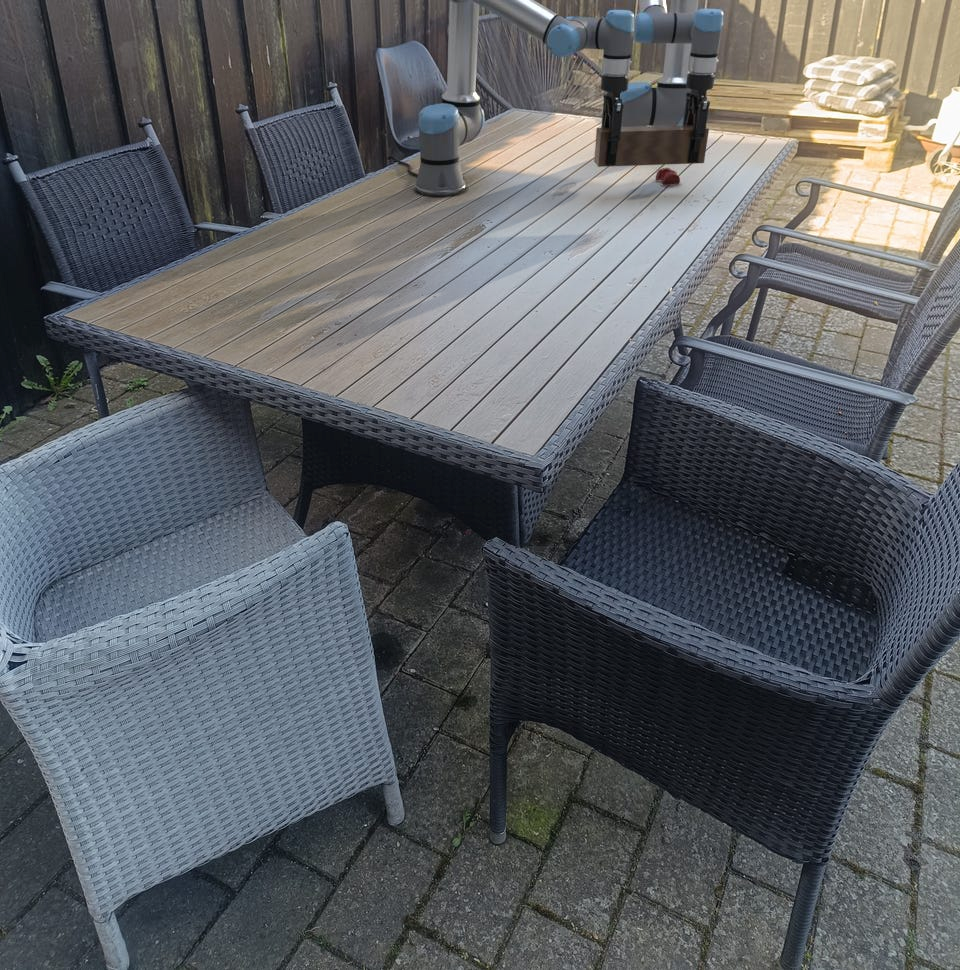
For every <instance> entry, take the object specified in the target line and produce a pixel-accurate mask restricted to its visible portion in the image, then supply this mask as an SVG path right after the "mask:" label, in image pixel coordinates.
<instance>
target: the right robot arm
mask: <svg viewBox="0 0 960 970" xmlns="http://www.w3.org/2000/svg"><path fill="white" fill-rule="evenodd" d="M638 8H639V13H637V14H636V15H635V17H634V32H633V40H634V42H636V43H639V44H646V45H649V44H665V53H664V61H663V62H664V63H663V71H662V76H661V77H660V78H659V79H658V80H657V82H656V83H657V84H656V87H652V84H651V83H650V82H649V81H633V82H629V84H628V90H627V91H624V92H621V98H622V103H623V105H624V106H623V112H622V123H621V127H637V126H670V125H693V137H690V140H691V143H690V150H689V157H688V163H694V164H698V163H697V162H698V156H699V149H700V142H701V139H702V138H704V137H705V130H706V127H707V121H708V114H709V109H710V105H711V101H709V100H708V97H707V92H708V91H710V90H713V88H714V85H715V77H716V75H715V73H716V70H717V64H719V59H718V57H719V50H720V45H721V37H722V30H723V27H724V12H723V11H724V10H722V9H717V8H700V9H699V0H670V4H669V12H668V9H667V2H666V0H638Z"/></svg>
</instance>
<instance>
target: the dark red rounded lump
mask: <svg viewBox="0 0 960 970" xmlns="http://www.w3.org/2000/svg"><path fill="white" fill-rule="evenodd" d="M655 181H662V182H661V185H662V186H670V185H680V183H681V178H680V176H679V174H678V172H677V171H676V170H672V169H671V168H669V167H662V168H660V169H658V171H657V172H656V174H655Z"/></svg>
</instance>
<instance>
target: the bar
mask: <svg viewBox="0 0 960 970" xmlns="http://www.w3.org/2000/svg"><path fill="white" fill-rule="evenodd" d="M709 131H710V128H708V127H707V126H706V130H705V137H704V138H702V139H701V142H700V149H699V156H698V162H697V163H696V164H705V161H706V159H705V158H706V154H707V153H706V152H707V146H708V138H709ZM690 137H693V125H670V126H637V127H621V135H620V141H618V143H617V154H616V165H606V155H607V143H608V142H607V141H606V140H607V139H609V127H604V128H601V127H596V132H595V143H594V160H593V162H594V163H595V164H596V166H597V167H599V168H602V167H603V168H605V167H632V166H633V167H635V166H660V165H662V166H663V165H664V166H665V165H688V164H689V165H690V164H691V165H692V164H693V165H694V164H695V163H688V157H689V150H690V143H691V140H690Z"/></svg>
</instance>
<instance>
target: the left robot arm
mask: <svg viewBox="0 0 960 970" xmlns="http://www.w3.org/2000/svg"><path fill="white" fill-rule="evenodd" d="M480 7H482V8H483V9H485V10H487V11H489V12H491V13H492V14H493V15H496V16H497V17H499V18H501V19H502V20H504V21H506V22H507V23H508V24H510V25H512V26H514V27H516V28H517V29H519V30H521V31H522V32H524V33H526V34H527V35H529V36H531V37H532V38H534V39H536V40H537V41H539V42H541V43H542V44H544V45H545V46H547V49H548V50H549V52H550V53H551V54H552V55H554V57H556V58H557V57H558V58H566V57H569V56H572V55H574V54H575V53H577V52H580V51H582V50H583V51H584V50H585V49H586V50H587V49H588V50H602V51H603V56H602V64H601V65H602V66H601V73H602V75H601V80H600V89H601V90H602V91H603V92H606V93H604V94H603V97H602V98H603V103H602V104H603V105H602V116H601V117H602V118H601V127H600V128H604V127H609V139H607V140H606V141H607V142H608V143H607V155H606V165H616V154H617V143H618V141H620V135H621V123H622V112H623V106H624V105H623V103H622V98H621V92H624V91H627V90H628V84H629V83H630V76H629V74H630V69H631V65H633V61H632V60H631V58H632V49H633V40H634V23H635V14H634V12H633V11H632V10H627V9H611V10H607V12H606V16H605V17H602V18H601V17H587V16H580V15H575V16H574V15H573V16H566V17H565V18H564V17H562V16H560V15H559V14H558V13H556V12H554V11H553V10H551V9H550V8H548V7H546V6H544V5H543V4H541V3H540V2H538V1H536V0H449V1H448V35H447V37H448V38H447V40H448V41H447V42H448V43H447V73H446V74H447V77H446V78H447V79H446V91H445V92H443V94H441V103H435V104H429V105H427V106H425V107H423V108H422V109H421V110H420V112H419V113H418V122H417V123H418V136H419V138H418V139H419V157H420V158H419V159H420V161H419V162H420V164H419V168H418V172H417V173H416V172H413V171H411V170H412V166H411V164H409V163H408V162H404V161H401V160H399V159H398V158H397V157H395V156H394V155H389V156H388V157H387V158H386V160H388V161H389V160H391V159H392V160H393V161H395V162H396V163H398V164H400V165H403V166H406V167H407V173H408V174H410V175H412V176H414V177H416V180H415V183H414V184H415V185H414V186H415V192H417V193H418V194H420V195H424V196H430V197H450V196H455V195H459V194H461V193H463V192H464V191H466V180H465V176H463V172H462V169H461V165H460V147H461V146H463V145H465V144H467V143H470V142H472V141H474V140H475V139H476V138H477V137H478V136H479V135H480V134H481V133H482V131H483V129H484V125H485V120H486V119H485V118H486V117H485V112H484V109H483V108H482V107H481V96H479V94H478V92H476V87H477V86H476V83H477V63H478V42H479V40H478V39H479V18H480Z"/></svg>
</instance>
